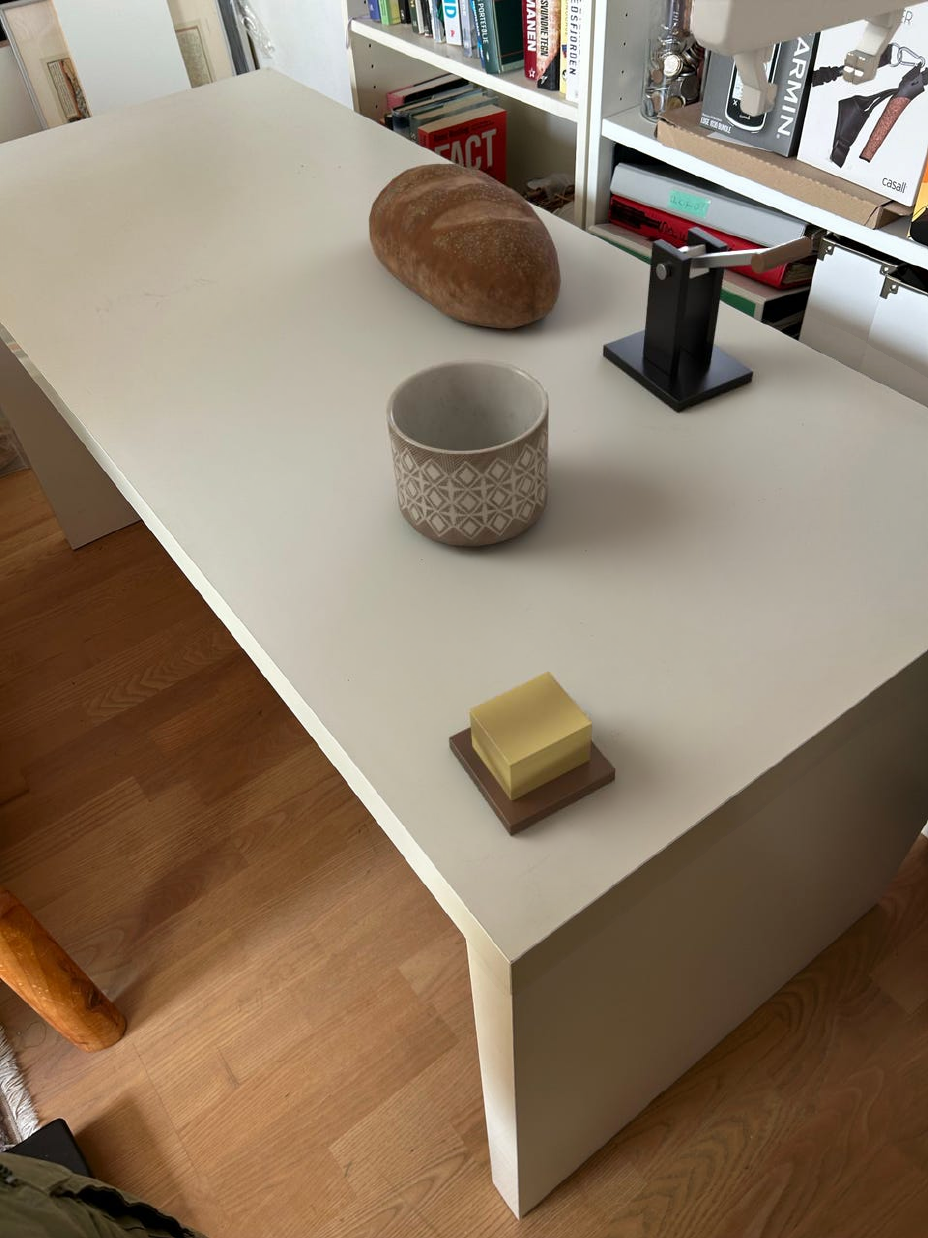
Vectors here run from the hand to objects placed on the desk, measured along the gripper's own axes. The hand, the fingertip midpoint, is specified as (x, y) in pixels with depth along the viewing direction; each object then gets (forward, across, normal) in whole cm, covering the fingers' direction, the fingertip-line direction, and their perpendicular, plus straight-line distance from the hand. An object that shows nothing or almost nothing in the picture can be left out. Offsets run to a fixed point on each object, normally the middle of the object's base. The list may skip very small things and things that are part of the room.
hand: (807, 96), depth 68 cm
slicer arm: (+16, +1, +5) cm, 17 cm away
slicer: (+28, +1, +11) cm, 30 cm away
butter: (+28, -36, -21) cm, 50 cm away
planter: (+28, -26, +4) cm, 39 cm away
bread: (+29, -7, +39) cm, 49 cm away
